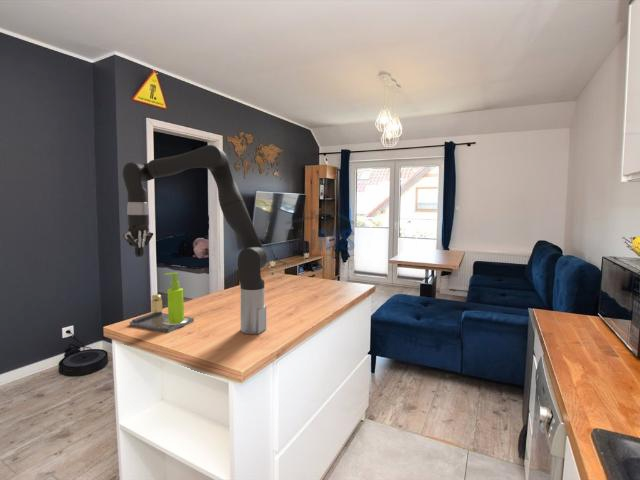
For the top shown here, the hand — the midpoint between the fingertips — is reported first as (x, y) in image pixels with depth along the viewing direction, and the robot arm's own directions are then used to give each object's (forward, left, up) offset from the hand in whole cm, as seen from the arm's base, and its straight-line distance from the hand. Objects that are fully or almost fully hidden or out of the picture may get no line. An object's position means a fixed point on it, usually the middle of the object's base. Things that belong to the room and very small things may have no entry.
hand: (139, 256), depth 139 cm
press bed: (-8, -3, -28) cm, 29 cm away
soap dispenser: (-14, -4, -26) cm, 30 cm away
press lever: (0, -8, -25) cm, 26 cm away
